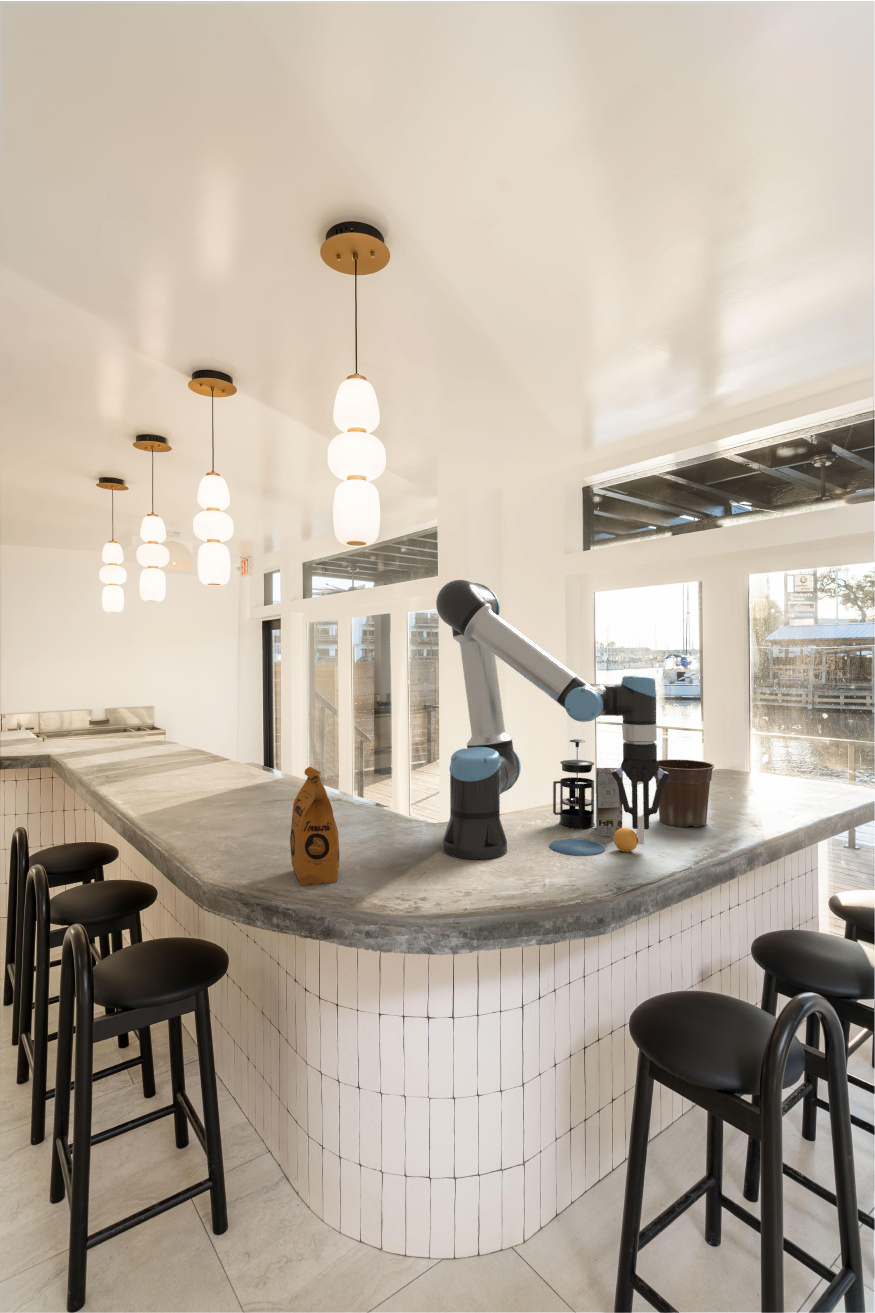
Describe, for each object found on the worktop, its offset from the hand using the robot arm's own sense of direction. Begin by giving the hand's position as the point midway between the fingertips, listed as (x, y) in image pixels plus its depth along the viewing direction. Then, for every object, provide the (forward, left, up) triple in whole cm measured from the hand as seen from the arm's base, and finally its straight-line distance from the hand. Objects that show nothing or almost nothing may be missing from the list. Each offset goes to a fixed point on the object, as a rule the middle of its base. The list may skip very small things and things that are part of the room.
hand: (640, 842), depth 155 cm
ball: (-3, 0, 0) cm, 3 cm away
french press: (-17, +21, -3) cm, 27 cm away
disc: (-15, 0, -2) cm, 15 cm away
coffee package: (-66, -36, -3) cm, 75 cm away
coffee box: (-8, +16, -3) cm, 18 cm away
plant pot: (+11, +32, -3) cm, 34 cm away
